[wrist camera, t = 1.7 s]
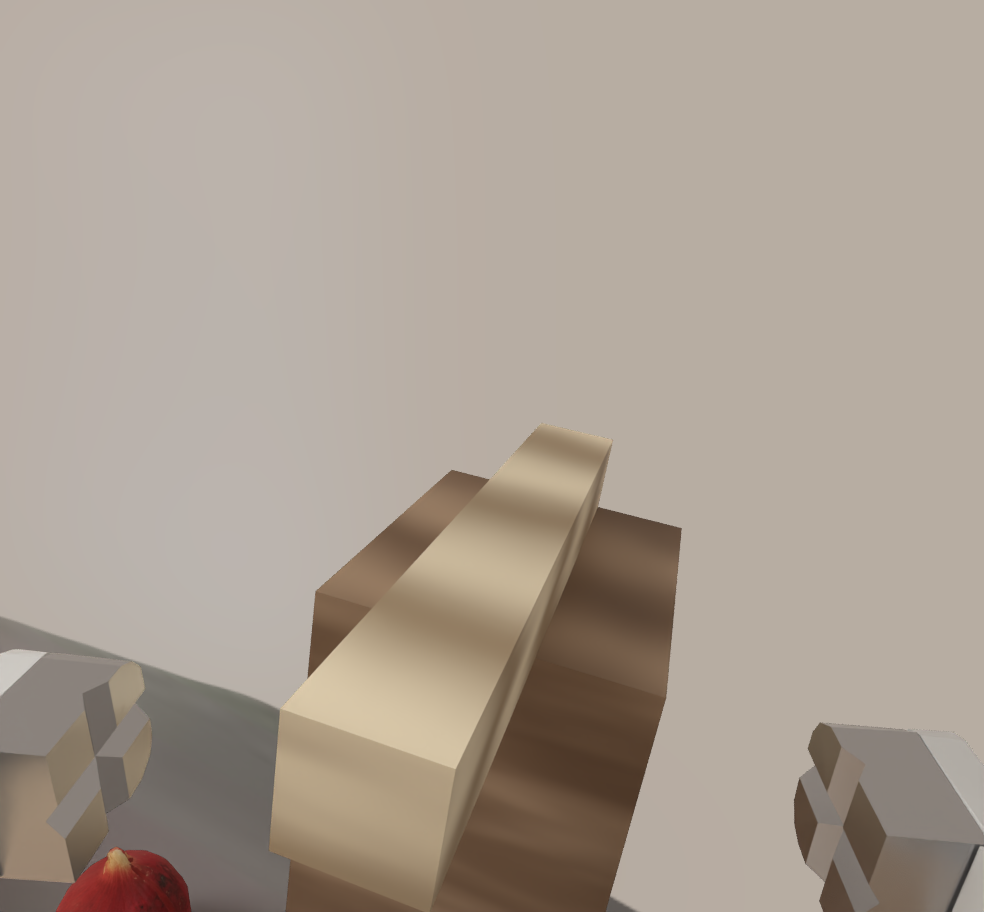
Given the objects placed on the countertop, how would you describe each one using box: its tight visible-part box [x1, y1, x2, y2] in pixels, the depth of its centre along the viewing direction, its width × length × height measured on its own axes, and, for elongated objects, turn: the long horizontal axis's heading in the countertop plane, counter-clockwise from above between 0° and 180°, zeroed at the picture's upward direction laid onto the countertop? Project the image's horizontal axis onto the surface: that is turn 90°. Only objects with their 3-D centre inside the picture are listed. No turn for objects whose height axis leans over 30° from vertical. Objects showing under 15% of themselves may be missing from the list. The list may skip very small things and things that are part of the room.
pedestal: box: [286, 470, 681, 912], centre depth 30 cm, size 12×10×26 cm
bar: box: [269, 423, 613, 912], centre depth 21 cm, size 20×3×3 cm, turn 164°
